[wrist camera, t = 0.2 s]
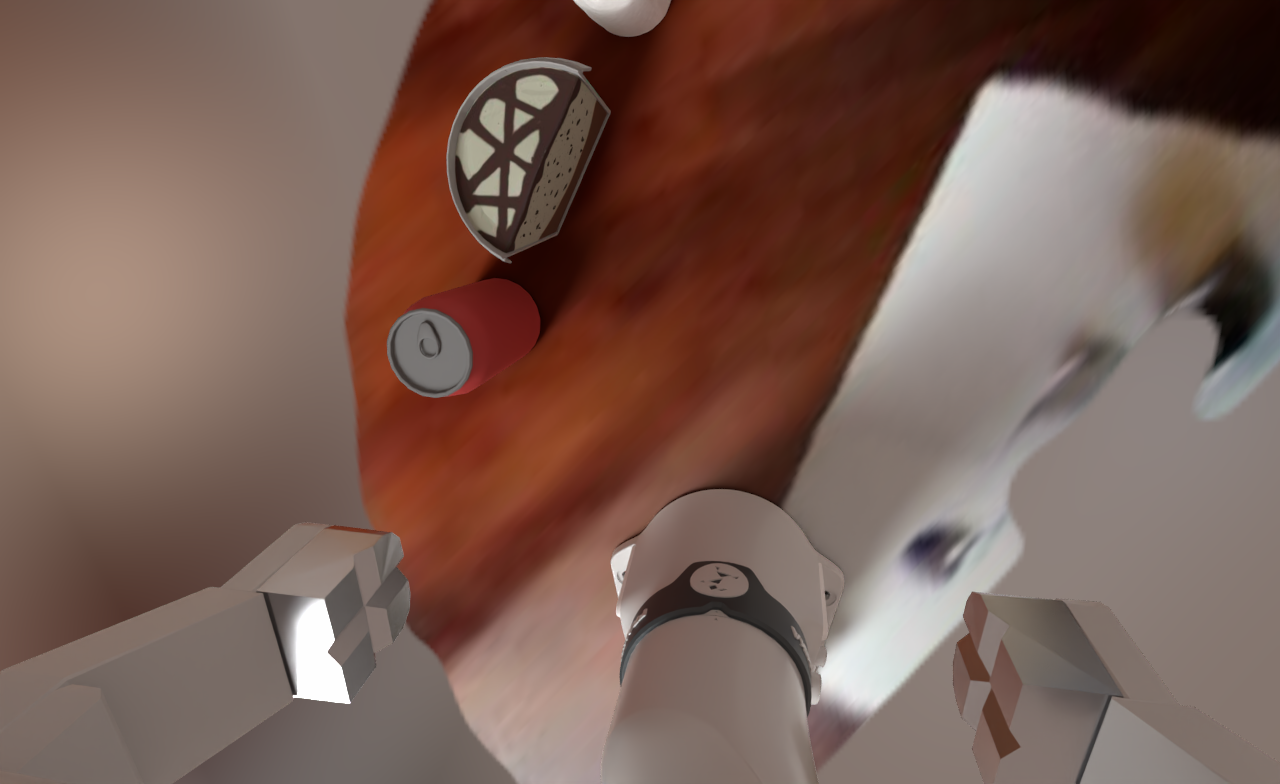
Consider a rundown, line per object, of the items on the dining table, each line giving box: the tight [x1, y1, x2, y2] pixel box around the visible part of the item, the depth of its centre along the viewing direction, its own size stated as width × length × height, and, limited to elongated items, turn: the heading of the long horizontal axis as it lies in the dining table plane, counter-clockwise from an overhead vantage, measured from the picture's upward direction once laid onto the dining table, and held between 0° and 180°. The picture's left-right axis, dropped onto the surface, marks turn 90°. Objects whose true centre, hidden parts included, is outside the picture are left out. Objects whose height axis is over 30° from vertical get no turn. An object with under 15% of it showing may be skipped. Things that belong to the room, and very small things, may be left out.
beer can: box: [387, 278, 540, 398], centre depth 45 cm, size 7×7×12 cm
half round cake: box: [447, 58, 611, 264], centre depth 41 cm, size 12×6×10 cm, turn 154°
